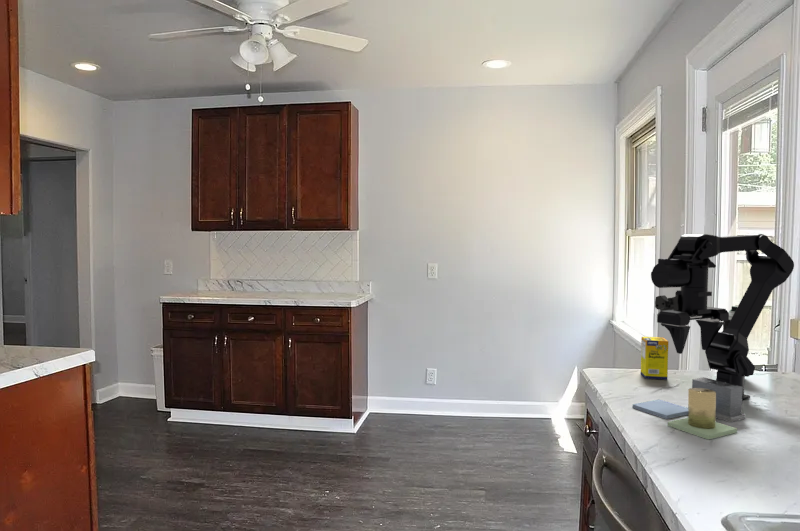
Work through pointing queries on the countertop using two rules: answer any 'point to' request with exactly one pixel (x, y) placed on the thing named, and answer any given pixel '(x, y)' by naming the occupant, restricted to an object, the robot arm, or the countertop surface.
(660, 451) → the countertop surface
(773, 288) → the robot arm
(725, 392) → the grey block with base
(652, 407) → the slate mat
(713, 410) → the gold metal cylinder
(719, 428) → the sage mat
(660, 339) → the supplement box
